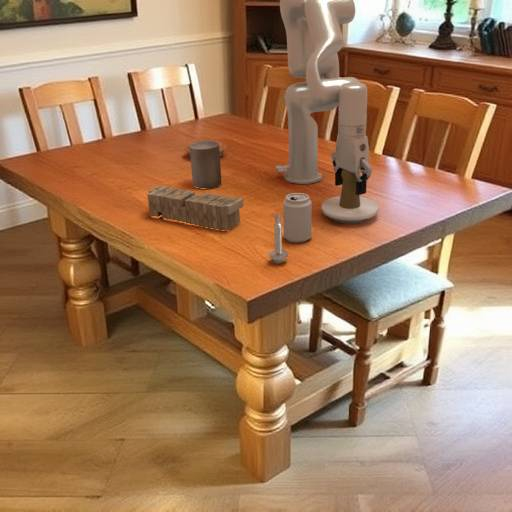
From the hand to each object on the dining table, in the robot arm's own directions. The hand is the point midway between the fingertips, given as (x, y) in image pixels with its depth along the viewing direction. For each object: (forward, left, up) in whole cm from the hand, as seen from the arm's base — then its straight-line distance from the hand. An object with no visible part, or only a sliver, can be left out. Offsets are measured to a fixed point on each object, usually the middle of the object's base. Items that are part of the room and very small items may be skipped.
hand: (350, 189), depth 192 cm
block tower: (-44, -7, -9) cm, 46 cm away
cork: (0, 0, -5) cm, 5 cm away
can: (-13, -17, -8) cm, 23 cm away
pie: (-56, +56, -9) cm, 80 cm away
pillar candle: (-48, +24, -8) cm, 54 cm away
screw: (-16, -32, -8) cm, 37 cm away
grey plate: (0, 0, -8) cm, 8 cm away
